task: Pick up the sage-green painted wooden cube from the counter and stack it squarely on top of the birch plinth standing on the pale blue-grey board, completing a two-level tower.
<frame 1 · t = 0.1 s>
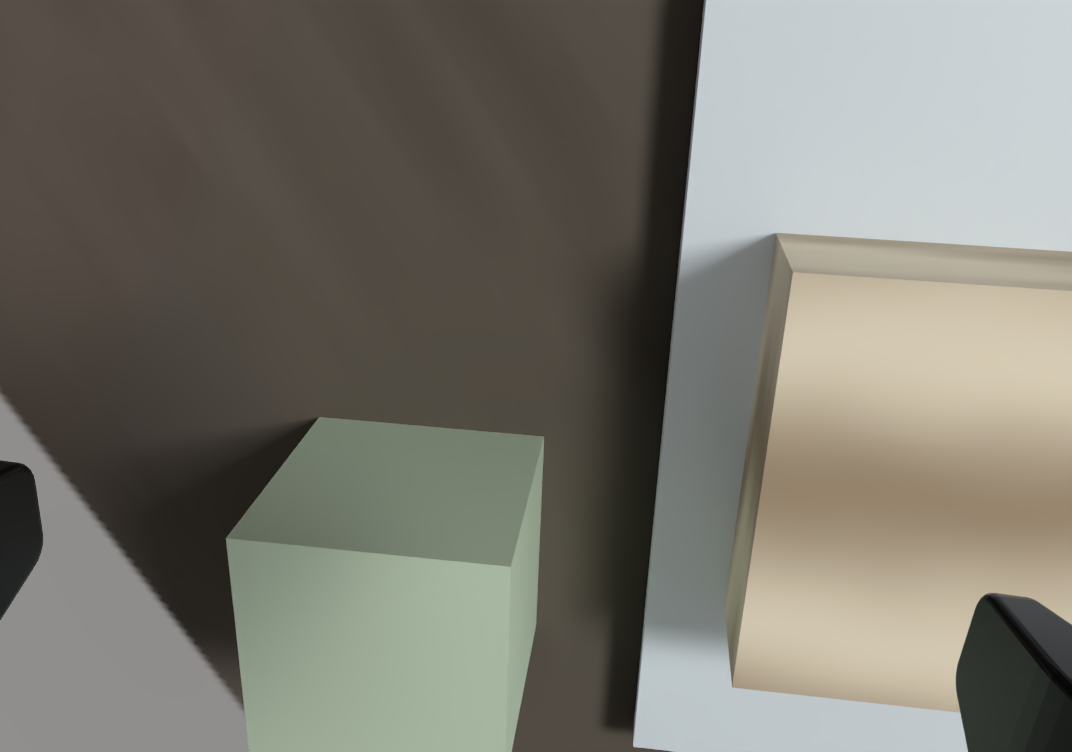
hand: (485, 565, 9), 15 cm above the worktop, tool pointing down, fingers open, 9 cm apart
pale blue-grey board: (952, 436, 23), on the worktop
birch plinth: (964, 455, 22), resting on pale blue-grey board
sage cube: (431, 523, 26), on the worktop
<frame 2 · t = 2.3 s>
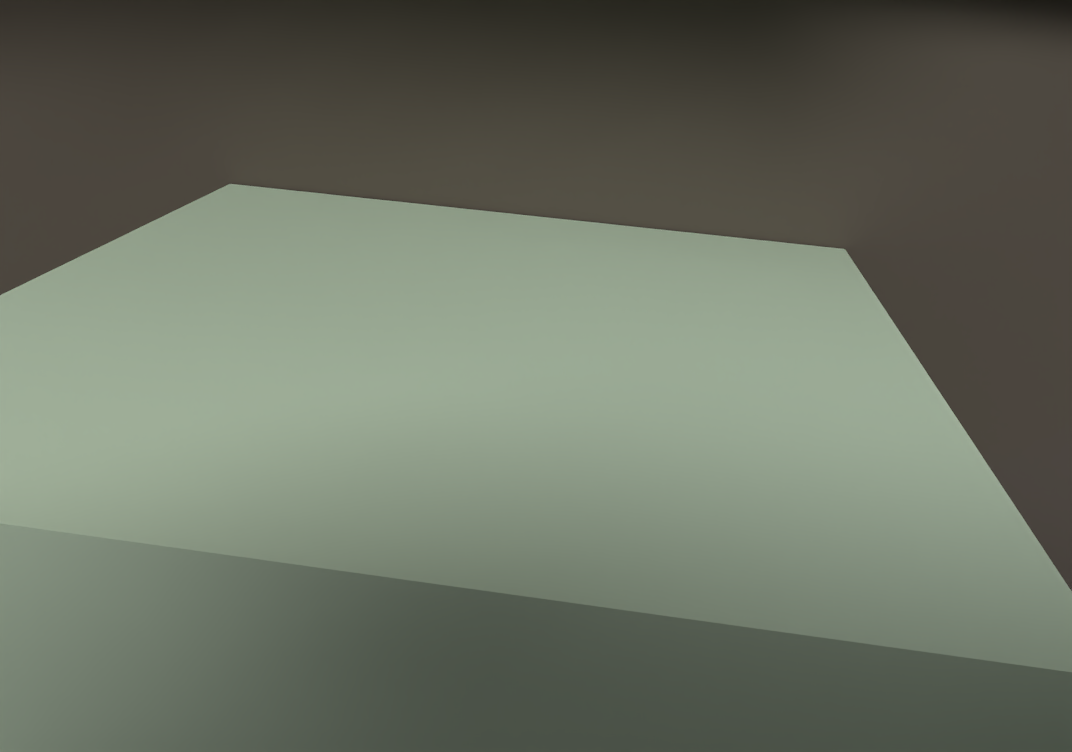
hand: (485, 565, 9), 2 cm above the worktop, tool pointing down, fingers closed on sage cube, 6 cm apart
sage cube: (508, 485, 10), on the worktop, touching gripper
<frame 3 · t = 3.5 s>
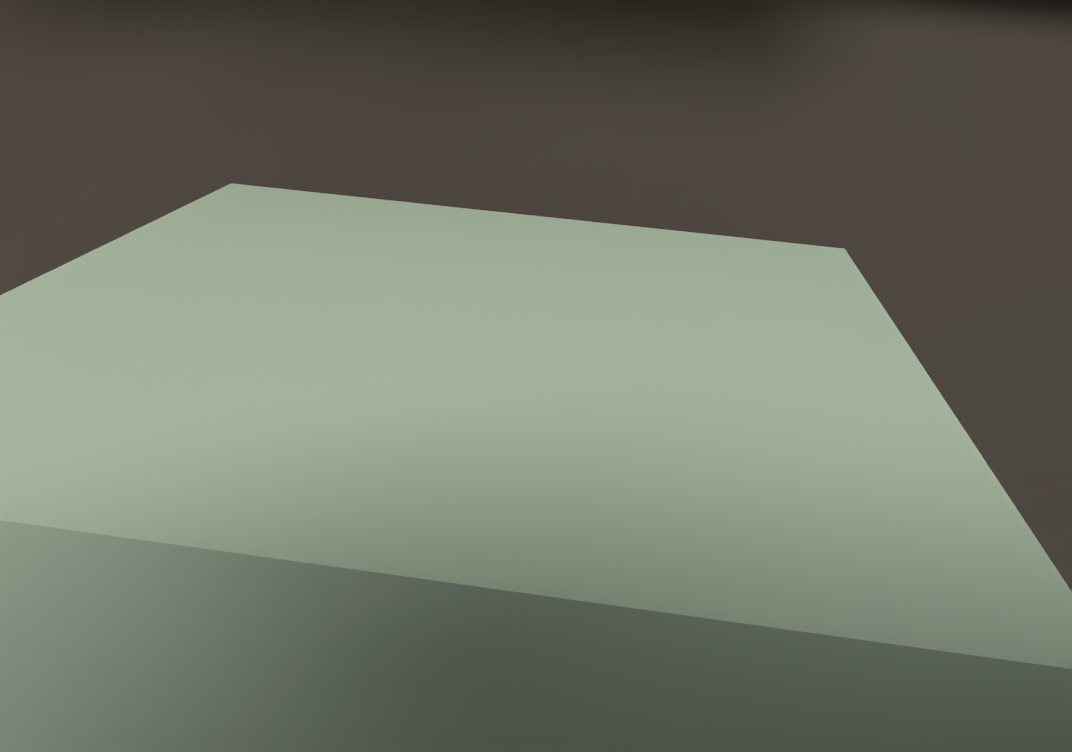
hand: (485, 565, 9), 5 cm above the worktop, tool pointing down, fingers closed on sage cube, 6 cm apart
sage cube: (509, 485, 10), point 4 cm above the worktop, touching gripper
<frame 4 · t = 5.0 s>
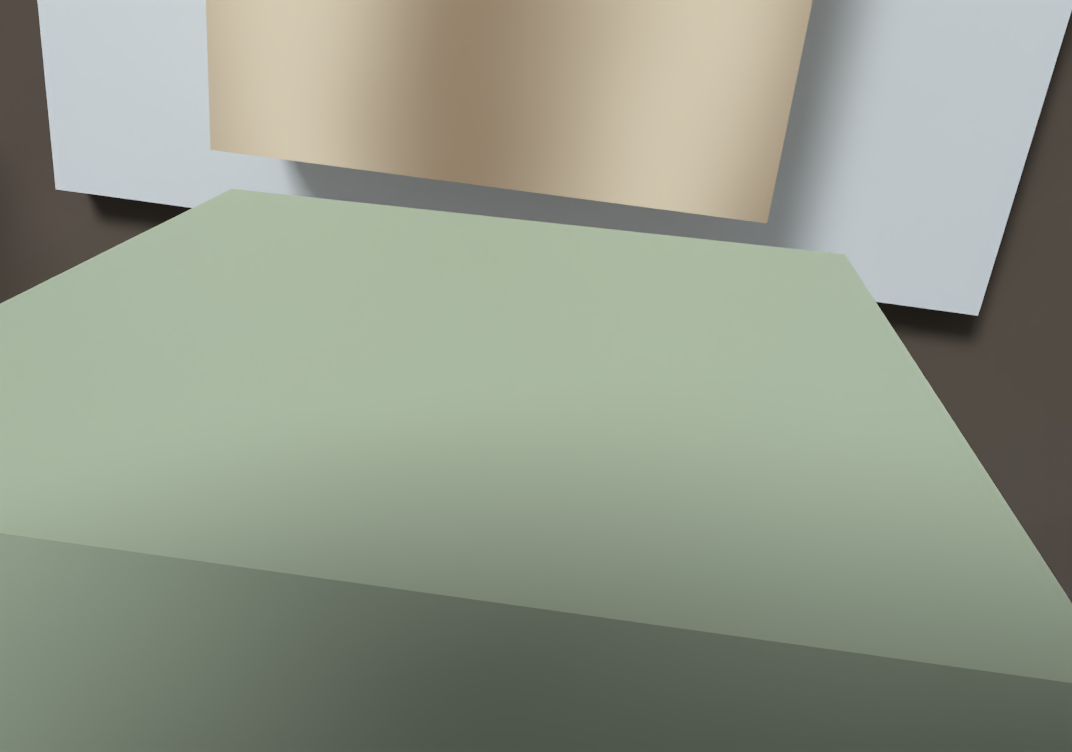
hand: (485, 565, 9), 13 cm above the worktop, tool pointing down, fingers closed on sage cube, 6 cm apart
sage cube: (509, 489, 10), point 12 cm above the worktop, touching gripper
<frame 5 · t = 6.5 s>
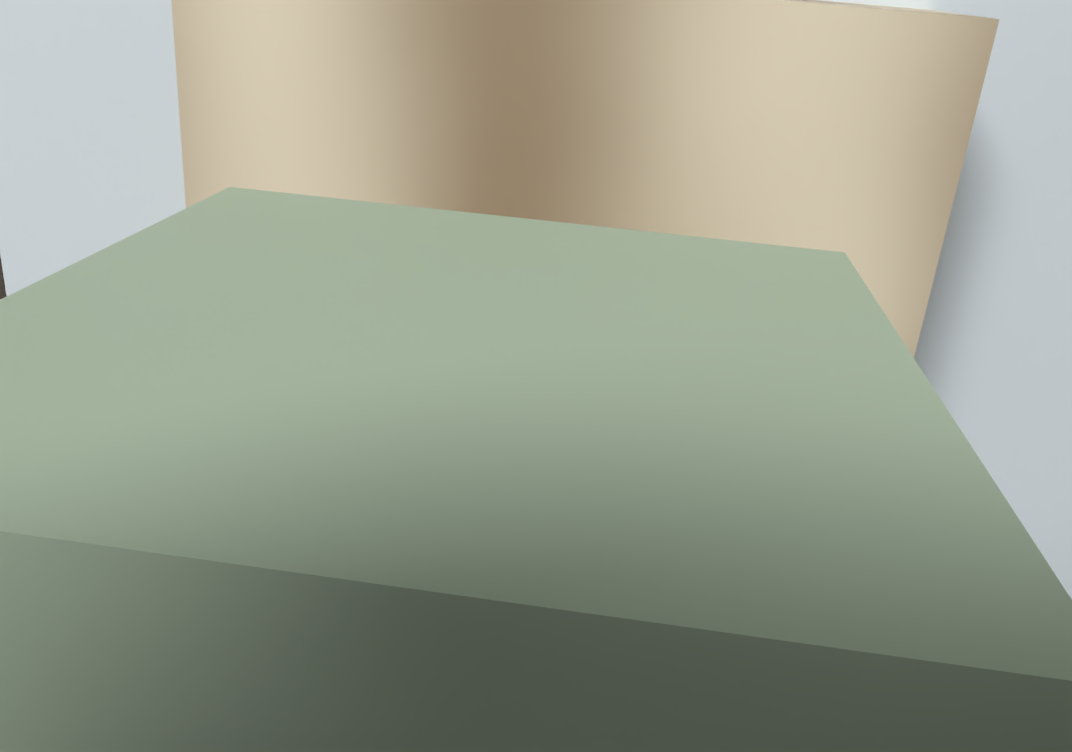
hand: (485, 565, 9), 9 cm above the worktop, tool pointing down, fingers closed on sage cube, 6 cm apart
pale blue-grey board: (563, 282, 17), on the worktop
birch plinth: (557, 299, 16), resting on pale blue-grey board
sage cube: (508, 488, 10), point 7 cm above the worktop, touching gripper
when the fingers open (6 cm above the worktop, at t = 7.5 s): sage cube stays where it is, resting on birch plinth.
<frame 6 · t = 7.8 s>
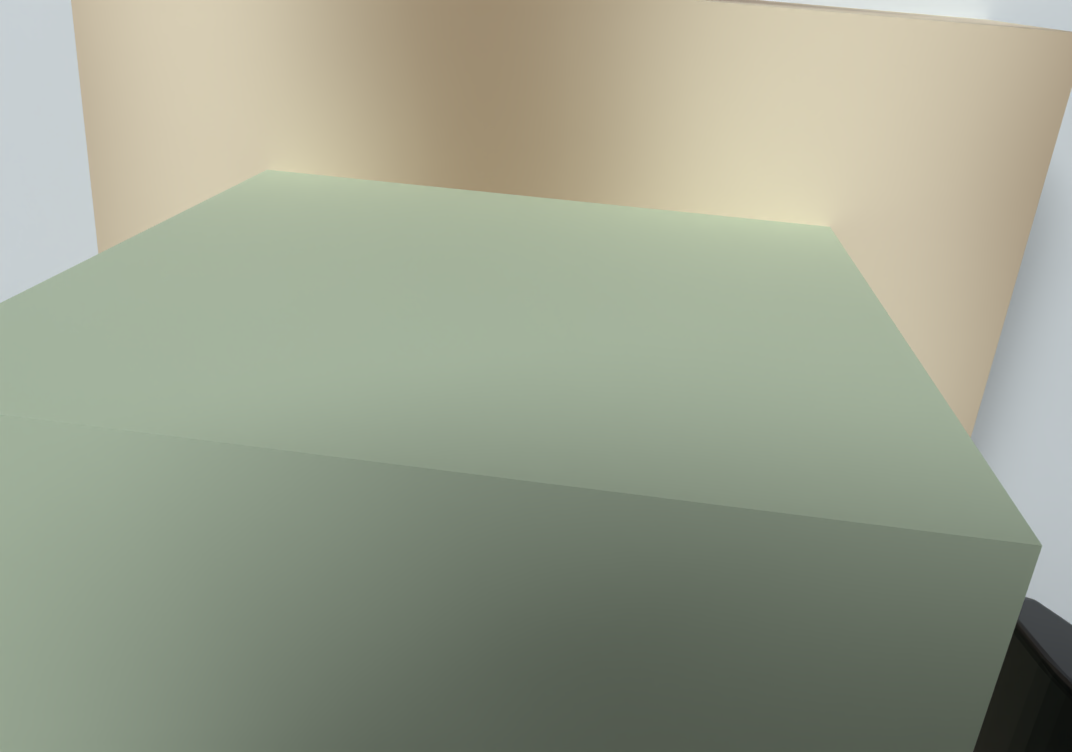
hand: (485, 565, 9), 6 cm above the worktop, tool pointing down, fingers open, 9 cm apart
pale blue-grey board: (553, 328, 15), on the worktop
birch plinth: (546, 352, 14), resting on pale blue-grey board
sage cube: (522, 448, 11), point 4 cm above the worktop, touching birch plinth
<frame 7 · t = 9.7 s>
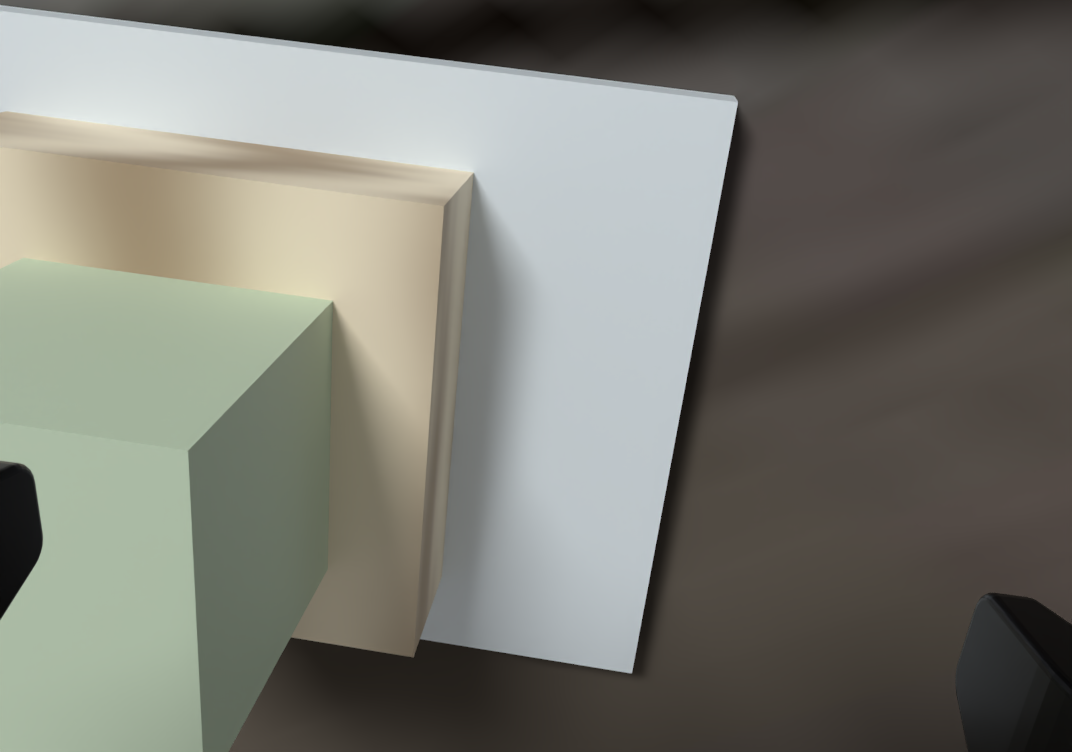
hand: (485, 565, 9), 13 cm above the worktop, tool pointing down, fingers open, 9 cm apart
pale blue-grey board: (257, 346, 23), on the worktop
birch plinth: (240, 362, 22), resting on pale blue-grey board
sage cube: (183, 421, 19), point 4 cm above the worktop, touching birch plinth
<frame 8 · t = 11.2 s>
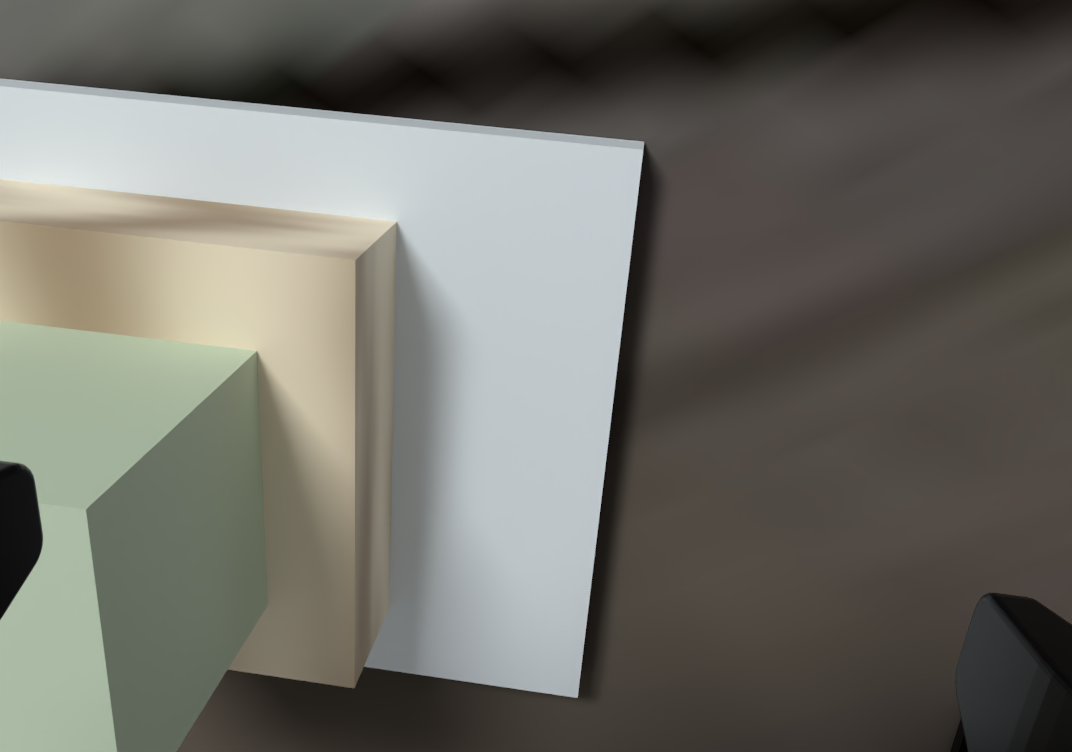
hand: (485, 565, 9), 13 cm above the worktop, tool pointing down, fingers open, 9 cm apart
pale blue-grey board: (205, 389, 24), on the worktop
birch plinth: (186, 405, 23), resting on pale blue-grey board
sage cube: (123, 467, 20), point 4 cm above the worktop, touching birch plinth
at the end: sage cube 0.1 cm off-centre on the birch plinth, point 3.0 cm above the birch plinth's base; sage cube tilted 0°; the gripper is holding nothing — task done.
